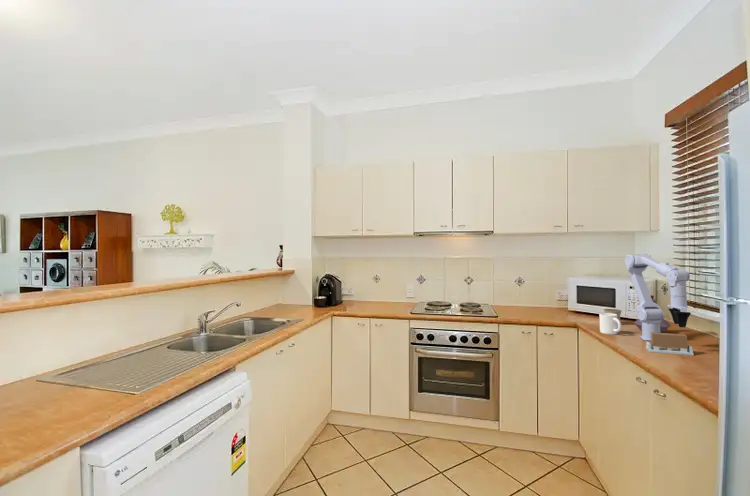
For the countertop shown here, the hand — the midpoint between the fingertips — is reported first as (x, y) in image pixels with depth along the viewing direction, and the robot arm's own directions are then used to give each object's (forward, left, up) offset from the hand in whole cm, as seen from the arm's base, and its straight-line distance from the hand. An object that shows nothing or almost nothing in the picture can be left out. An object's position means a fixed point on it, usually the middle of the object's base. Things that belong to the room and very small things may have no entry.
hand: (679, 325), depth 163 cm
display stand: (+8, -6, -10) cm, 14 cm away
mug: (-23, -24, -11) cm, 35 cm away
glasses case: (+8, -6, -8) cm, 13 cm away
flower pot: (-53, -20, -11) cm, 58 cm away
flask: (-35, -4, -11) cm, 37 cm away
